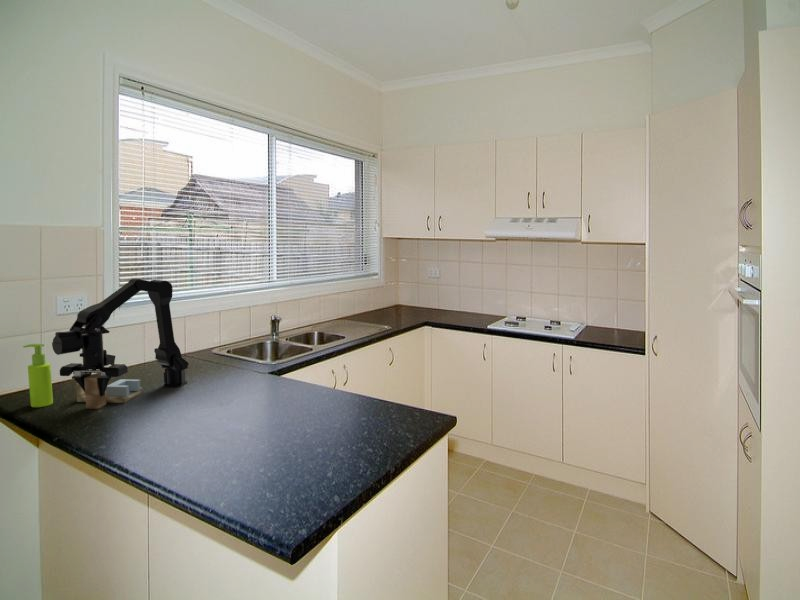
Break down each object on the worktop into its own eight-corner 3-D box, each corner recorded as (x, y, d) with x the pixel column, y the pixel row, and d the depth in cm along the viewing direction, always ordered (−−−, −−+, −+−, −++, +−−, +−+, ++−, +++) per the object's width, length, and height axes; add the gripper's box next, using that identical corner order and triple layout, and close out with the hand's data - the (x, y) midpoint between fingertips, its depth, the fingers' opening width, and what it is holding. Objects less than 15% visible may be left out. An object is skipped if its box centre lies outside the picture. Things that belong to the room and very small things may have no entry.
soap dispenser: (35, 401, 160) (30, 342, 157) (57, 401, 160) (52, 342, 158) (23, 407, 154) (18, 346, 151) (45, 407, 154) (41, 346, 152)
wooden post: (106, 404, 158) (104, 374, 157) (98, 408, 154) (96, 378, 153) (94, 404, 158) (92, 374, 157) (86, 408, 154) (84, 378, 153)
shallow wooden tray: (142, 392, 171) (141, 375, 170) (124, 402, 160) (123, 385, 159) (97, 391, 171) (96, 375, 170) (77, 401, 160) (75, 384, 159)
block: (140, 389, 170) (140, 379, 169) (126, 397, 161) (126, 386, 161) (120, 389, 170) (120, 379, 169) (105, 397, 161) (105, 386, 161)
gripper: (135, 343, 162) (138, 388, 164) (80, 342, 162) (83, 387, 164) (116, 351, 151) (118, 399, 153) (56, 350, 151) (60, 398, 153)
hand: (95, 395), depth 156 cm, fingers closed on wooden post, 4 cm apart
